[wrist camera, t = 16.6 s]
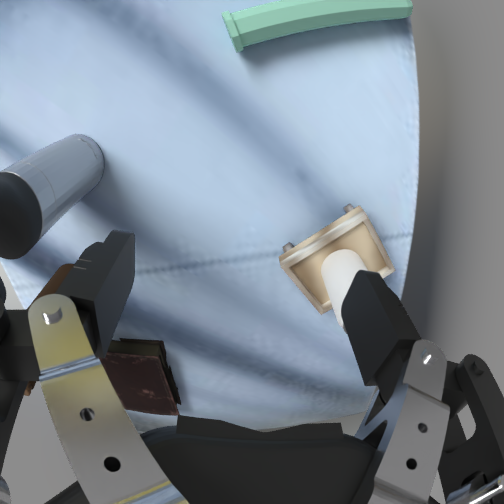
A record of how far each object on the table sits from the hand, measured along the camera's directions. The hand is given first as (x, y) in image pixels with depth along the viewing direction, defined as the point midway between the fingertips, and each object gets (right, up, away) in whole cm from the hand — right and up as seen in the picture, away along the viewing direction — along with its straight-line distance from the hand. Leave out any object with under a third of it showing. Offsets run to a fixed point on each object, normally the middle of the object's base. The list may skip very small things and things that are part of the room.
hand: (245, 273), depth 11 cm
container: (+9, +32, +20) cm, 39 cm away
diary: (-27, -27, +56) cm, 68 cm away
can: (+14, -1, +35) cm, 37 cm away
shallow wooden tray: (+13, +1, +38) cm, 41 cm away
